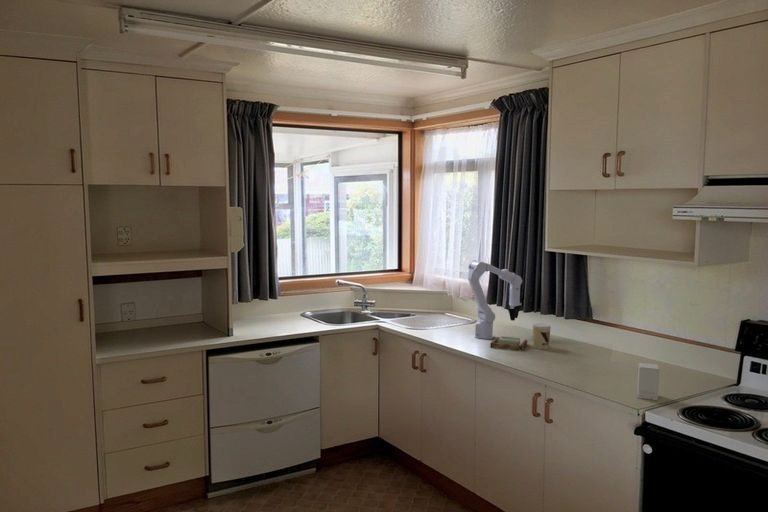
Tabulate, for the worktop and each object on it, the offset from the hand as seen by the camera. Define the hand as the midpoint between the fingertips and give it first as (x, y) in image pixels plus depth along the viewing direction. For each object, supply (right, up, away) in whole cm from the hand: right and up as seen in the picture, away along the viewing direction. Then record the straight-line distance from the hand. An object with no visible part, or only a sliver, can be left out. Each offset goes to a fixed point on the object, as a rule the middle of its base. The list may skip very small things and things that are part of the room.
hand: (514, 319), depth 347 cm
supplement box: (+31, -20, -105) cm, 111 cm away
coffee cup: (+9, -12, -27) cm, 31 cm away
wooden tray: (-8, -12, -24) cm, 27 cm away
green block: (-8, -12, -25) cm, 29 cm away
